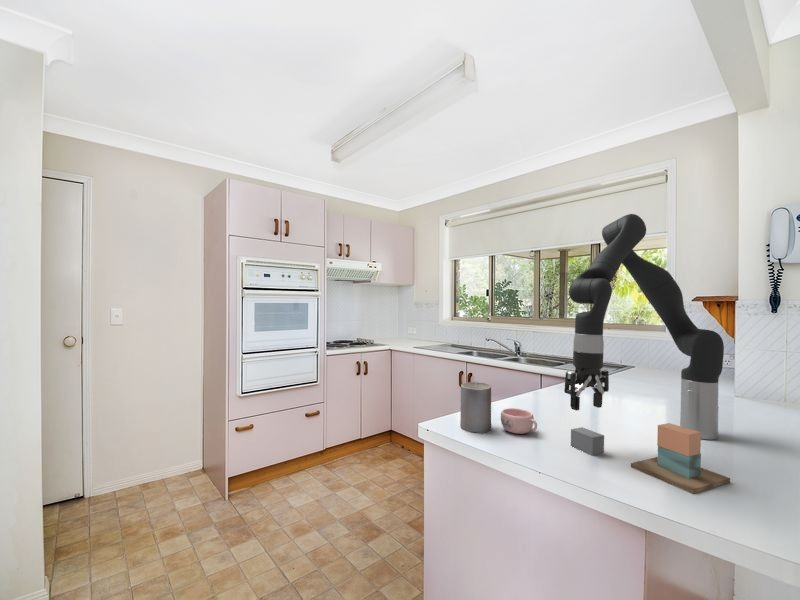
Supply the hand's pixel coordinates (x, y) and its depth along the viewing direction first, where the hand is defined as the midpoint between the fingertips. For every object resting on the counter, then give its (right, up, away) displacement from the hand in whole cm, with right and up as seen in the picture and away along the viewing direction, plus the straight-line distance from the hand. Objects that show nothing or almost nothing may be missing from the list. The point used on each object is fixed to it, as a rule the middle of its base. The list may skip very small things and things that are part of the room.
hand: (586, 408), depth 105 cm
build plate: (+15, -12, -15) cm, 24 cm away
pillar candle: (-28, -11, +16) cm, 34 cm away
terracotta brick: (+15, -6, -15) cm, 22 cm away
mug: (-15, -11, +13) cm, 23 cm away
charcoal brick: (0, -12, 0) cm, 12 cm away
